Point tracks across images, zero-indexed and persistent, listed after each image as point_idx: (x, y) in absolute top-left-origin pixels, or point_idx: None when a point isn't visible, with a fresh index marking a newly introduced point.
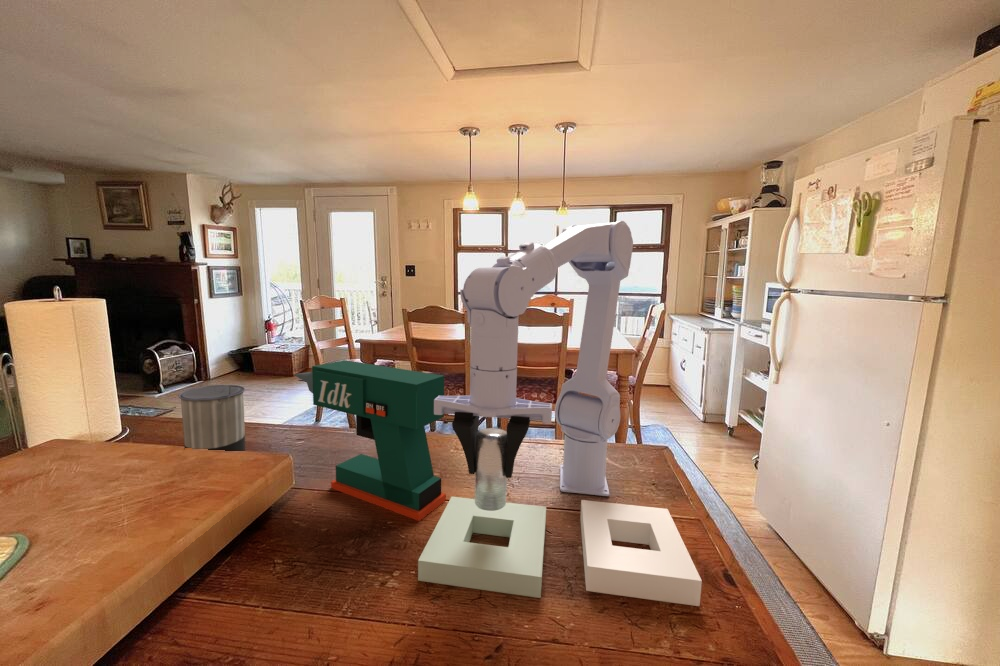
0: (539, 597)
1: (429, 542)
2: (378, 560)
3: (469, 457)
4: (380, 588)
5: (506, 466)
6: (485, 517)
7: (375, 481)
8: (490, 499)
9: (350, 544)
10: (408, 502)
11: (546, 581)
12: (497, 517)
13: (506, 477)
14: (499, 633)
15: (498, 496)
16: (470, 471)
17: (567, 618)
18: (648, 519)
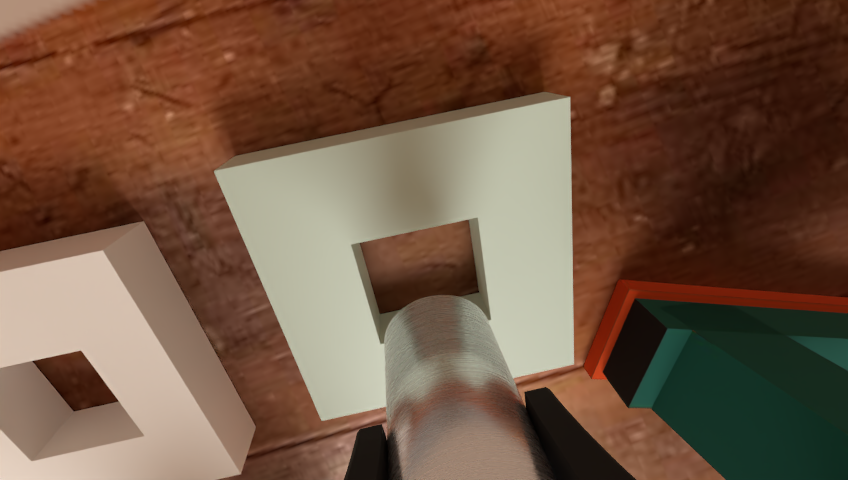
0: (237, 155)
1: (565, 177)
2: (667, 117)
3: (585, 456)
4: (626, 29)
5: (373, 474)
6: None
7: (800, 332)
8: (424, 324)
9: (756, 141)
10: (675, 308)
11: None
12: None
13: (377, 425)
14: (279, 5)
15: (399, 346)
16: (545, 396)
17: (146, 119)
18: (44, 472)
